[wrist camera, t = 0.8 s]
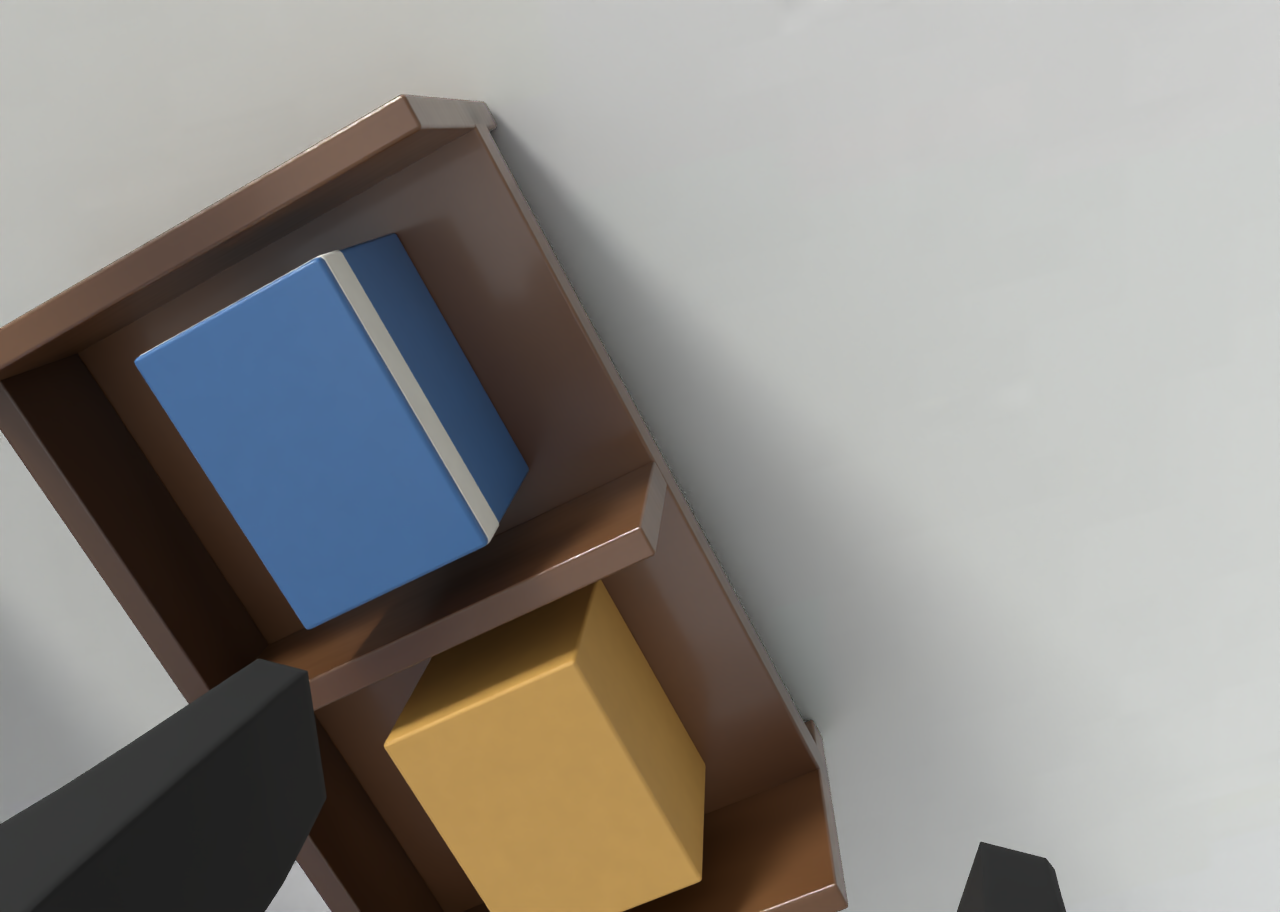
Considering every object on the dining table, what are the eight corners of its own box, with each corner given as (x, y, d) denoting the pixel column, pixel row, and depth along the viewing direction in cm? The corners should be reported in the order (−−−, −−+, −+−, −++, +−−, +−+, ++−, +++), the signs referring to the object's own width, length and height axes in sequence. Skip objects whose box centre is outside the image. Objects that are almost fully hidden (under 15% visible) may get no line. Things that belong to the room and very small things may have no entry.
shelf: (460, 885, 33) (393, 1077, 26) (96, 322, 29) (-95, 382, 22) (823, 738, 31) (849, 908, 24) (484, 100, 26) (402, 92, 20)
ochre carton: (547, 830, 29) (516, 954, 25) (435, 648, 28) (381, 745, 24) (707, 765, 28) (703, 882, 24) (598, 573, 27) (574, 660, 23)
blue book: (379, 545, 27) (305, 634, 23) (239, 316, 26) (128, 360, 21) (532, 470, 26) (489, 546, 22) (396, 229, 25) (318, 255, 20)
